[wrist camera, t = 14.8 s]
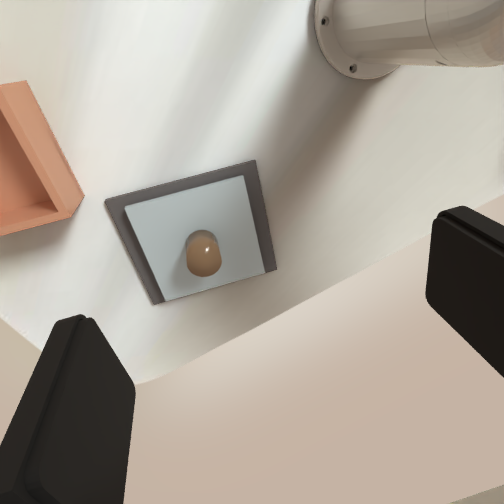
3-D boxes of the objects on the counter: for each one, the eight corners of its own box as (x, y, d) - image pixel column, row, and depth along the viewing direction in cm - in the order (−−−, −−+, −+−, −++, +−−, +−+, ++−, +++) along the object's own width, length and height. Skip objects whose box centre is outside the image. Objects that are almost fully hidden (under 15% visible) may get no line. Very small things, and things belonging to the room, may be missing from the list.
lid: (241, 173, 40) (251, 190, 35) (262, 267, 47) (273, 292, 42) (126, 204, 39) (119, 225, 34) (166, 295, 46) (165, 323, 42)
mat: (254, 159, 40) (255, 161, 39) (275, 267, 48) (277, 269, 48) (105, 199, 39) (104, 201, 38) (154, 302, 47) (154, 304, 47)
